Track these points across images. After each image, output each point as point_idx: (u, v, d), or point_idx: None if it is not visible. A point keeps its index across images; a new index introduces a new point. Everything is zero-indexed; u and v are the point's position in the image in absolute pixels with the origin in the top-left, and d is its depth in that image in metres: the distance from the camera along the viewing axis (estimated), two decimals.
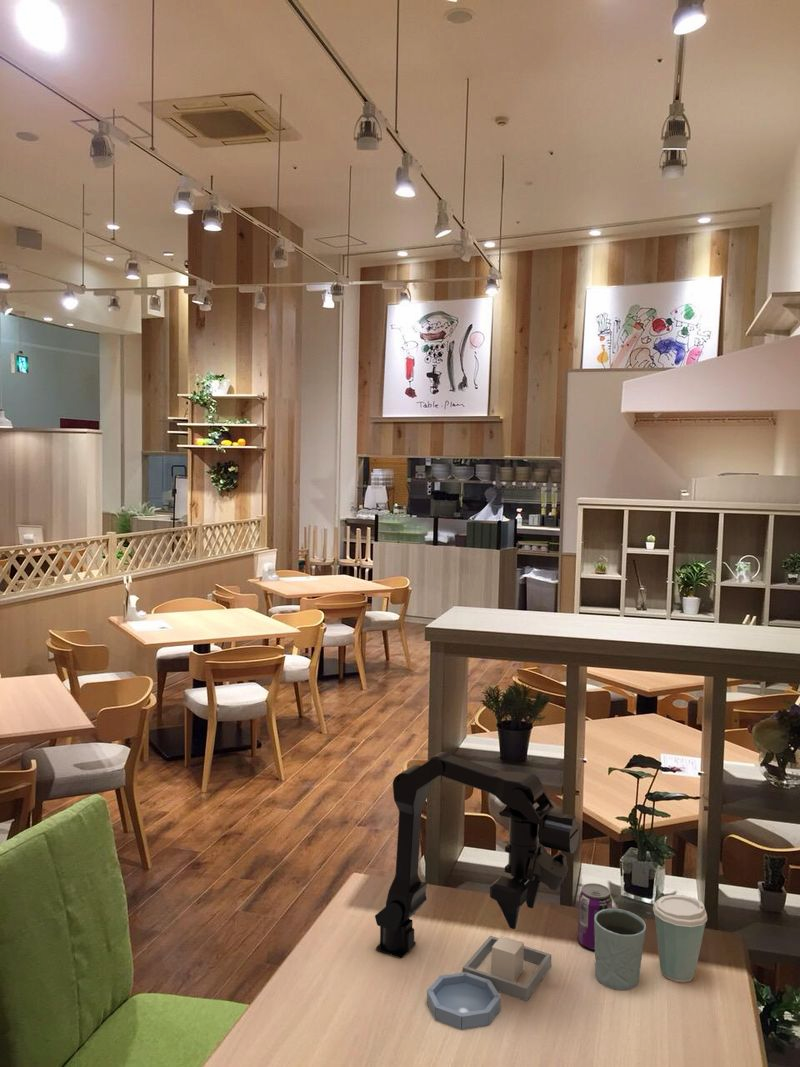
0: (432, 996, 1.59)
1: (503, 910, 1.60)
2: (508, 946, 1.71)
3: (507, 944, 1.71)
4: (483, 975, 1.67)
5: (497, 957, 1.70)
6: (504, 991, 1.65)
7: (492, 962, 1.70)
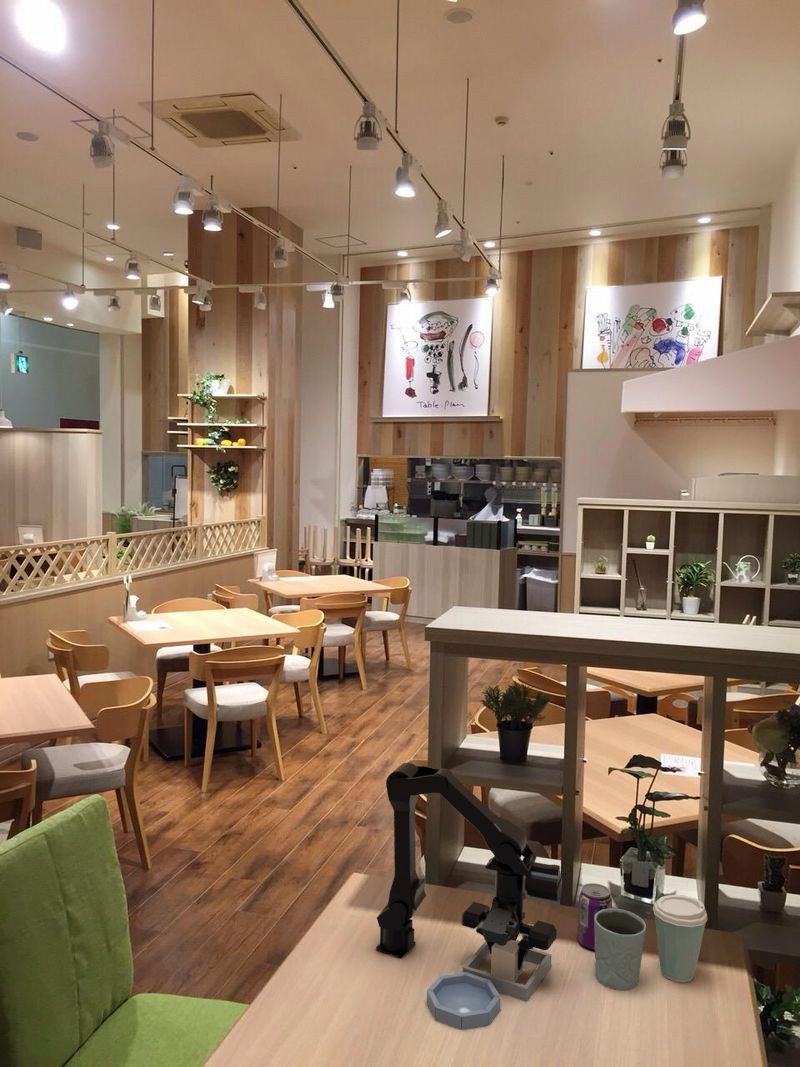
0: (432, 996, 1.59)
1: None
2: (508, 945, 1.71)
3: (507, 943, 1.71)
4: (483, 975, 1.67)
5: (497, 957, 1.70)
6: (504, 991, 1.65)
7: (492, 962, 1.70)
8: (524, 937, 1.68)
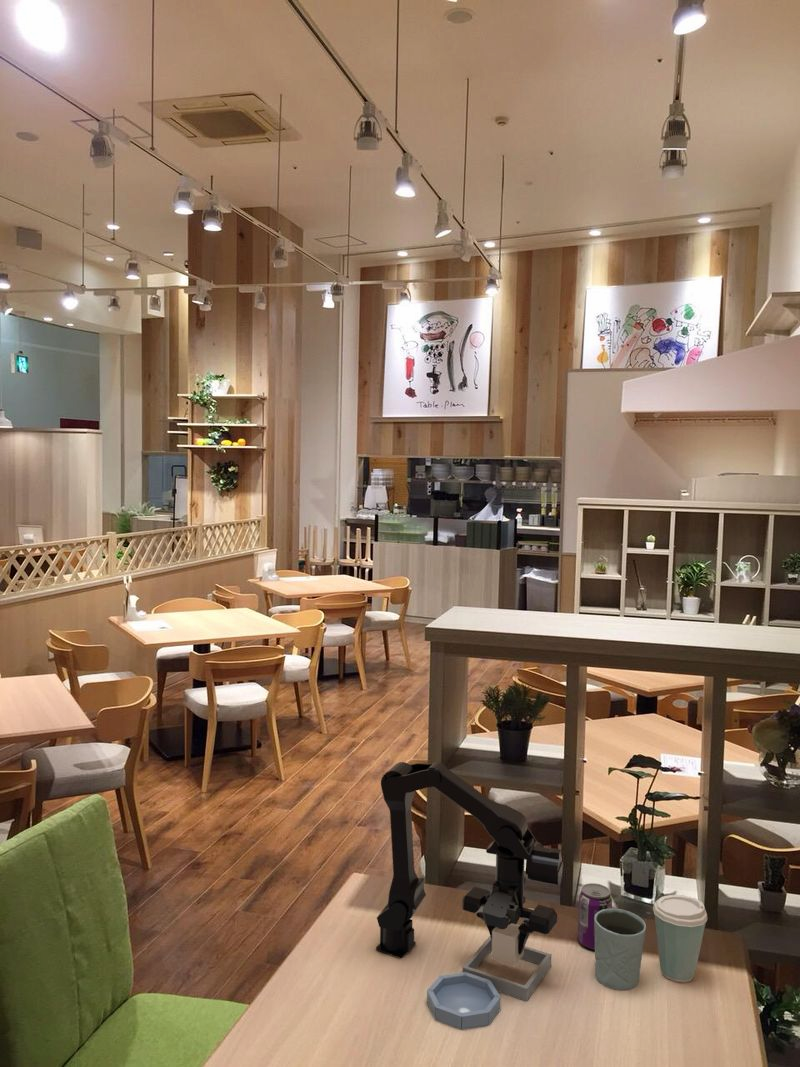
0: (432, 996, 1.59)
1: None
2: (508, 929, 1.71)
3: (507, 928, 1.71)
4: (483, 975, 1.67)
5: (498, 941, 1.70)
6: (504, 991, 1.65)
7: (492, 946, 1.70)
8: (525, 921, 1.68)
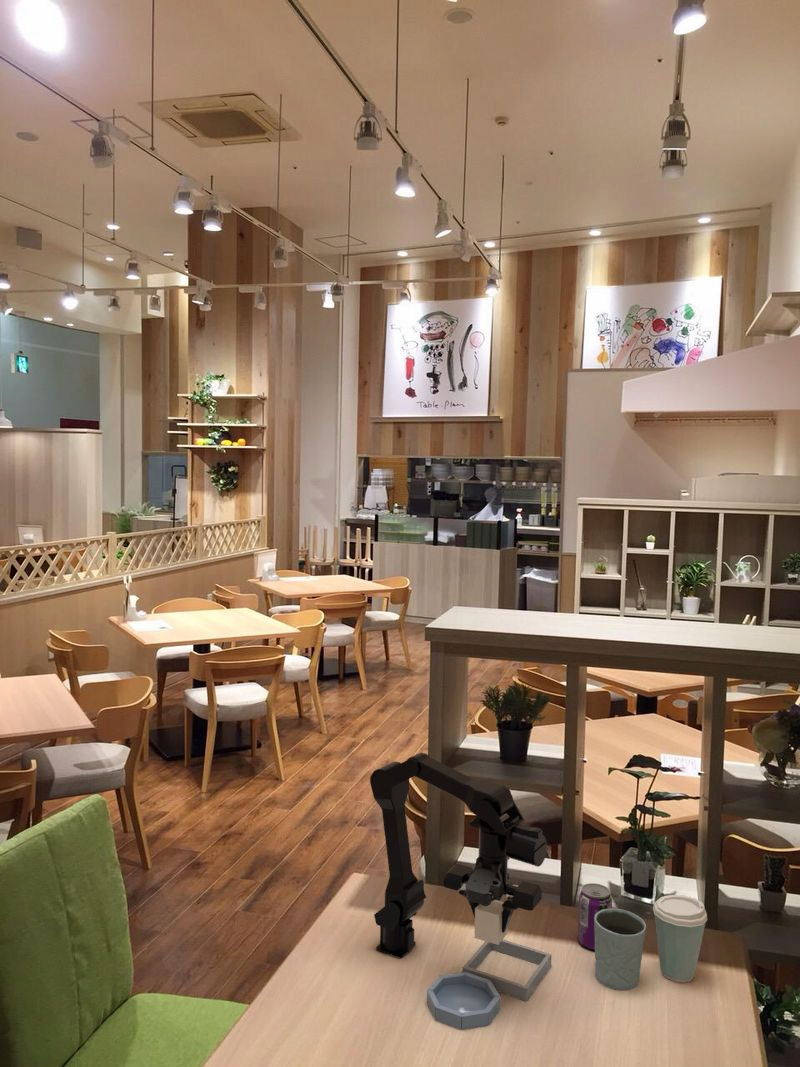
0: (432, 996, 1.59)
1: None
2: (492, 907, 1.66)
3: (491, 905, 1.66)
4: (483, 975, 1.67)
5: (481, 919, 1.65)
6: (504, 991, 1.65)
7: (475, 924, 1.65)
8: (508, 898, 1.63)
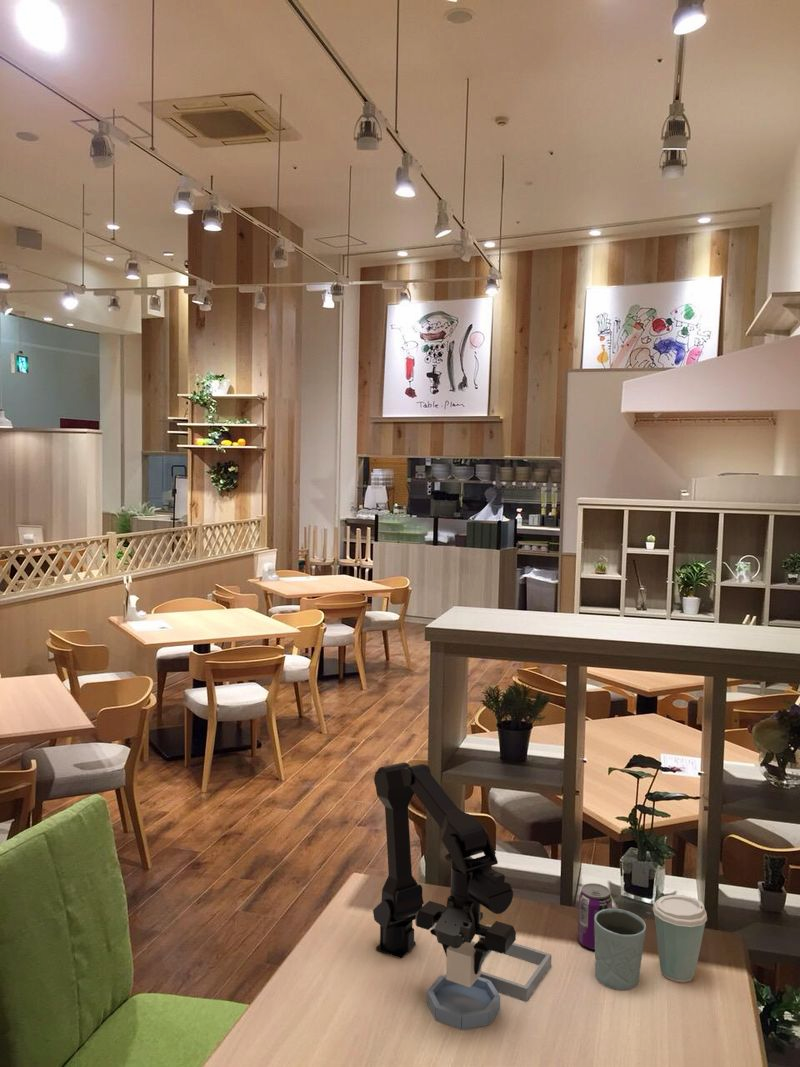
0: (432, 996, 1.59)
1: None
2: (464, 947, 1.59)
3: (463, 945, 1.60)
4: (483, 975, 1.67)
5: (452, 960, 1.58)
6: (504, 991, 1.65)
7: (447, 965, 1.59)
8: (481, 939, 1.57)
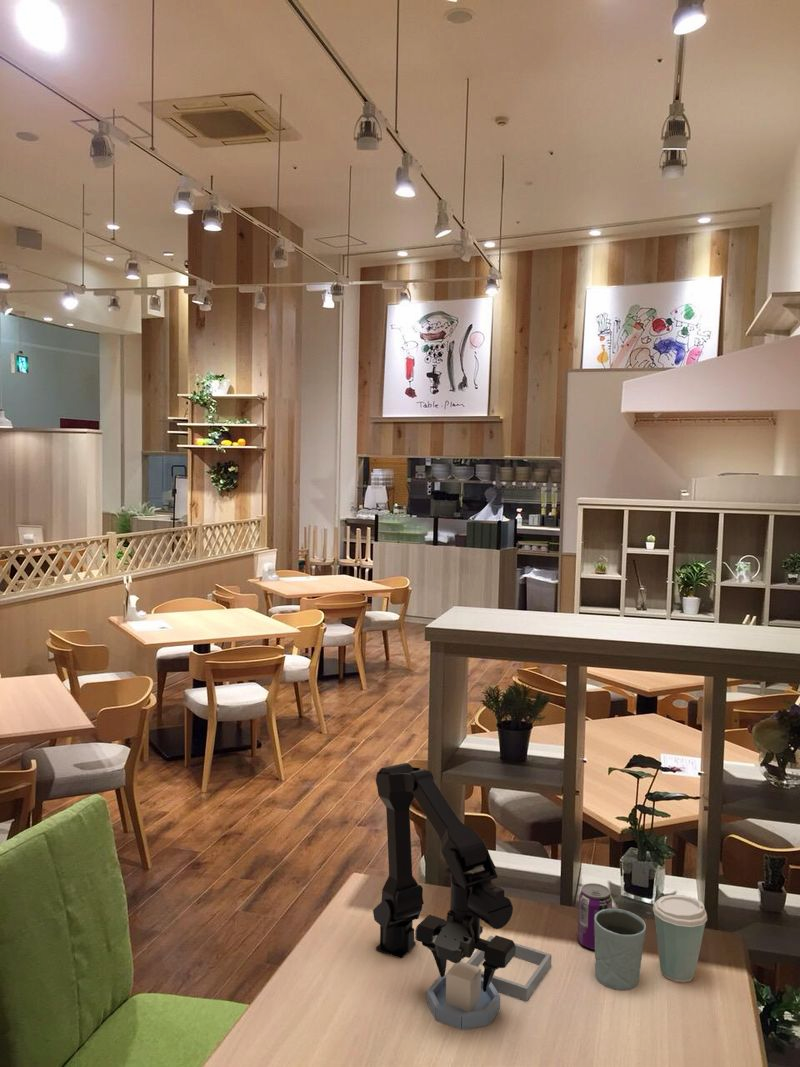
0: (432, 996, 1.59)
1: None
2: (464, 972, 1.60)
3: (463, 969, 1.60)
4: (483, 975, 1.67)
5: (452, 984, 1.59)
6: (504, 991, 1.65)
7: (447, 989, 1.59)
8: None
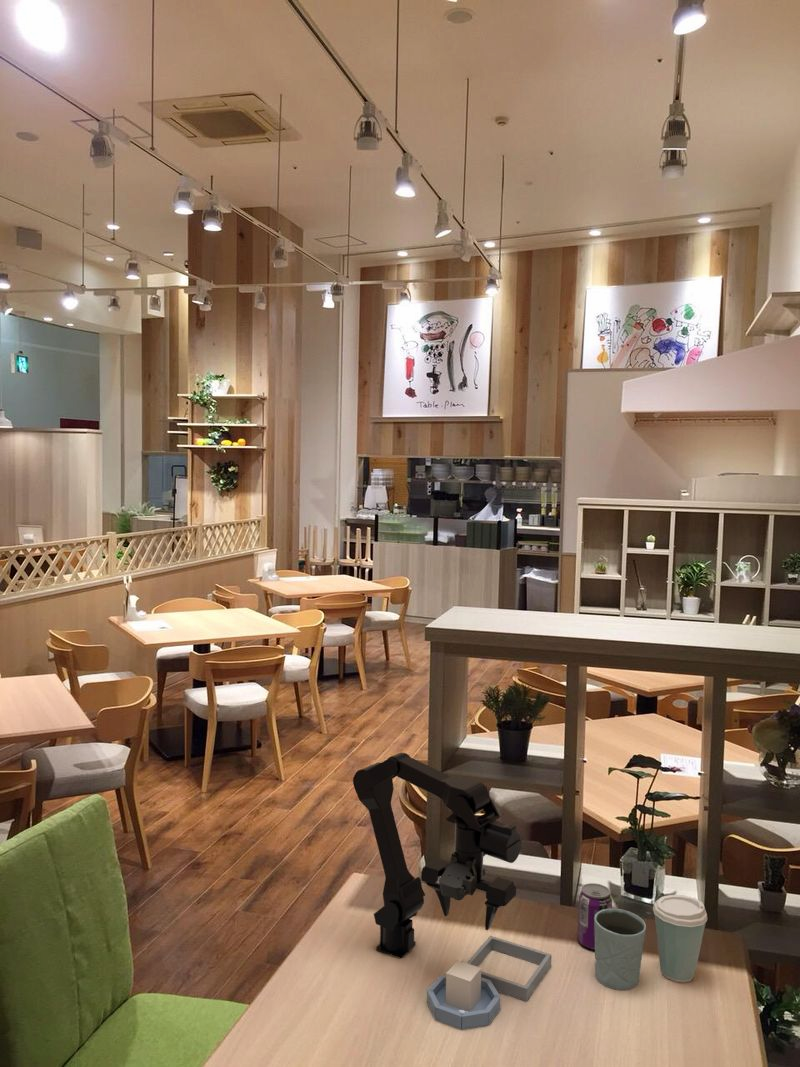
0: (432, 996, 1.59)
1: None
2: (464, 972, 1.60)
3: (463, 969, 1.60)
4: (483, 975, 1.67)
5: (452, 984, 1.59)
6: (504, 991, 1.65)
7: (447, 989, 1.59)
8: None
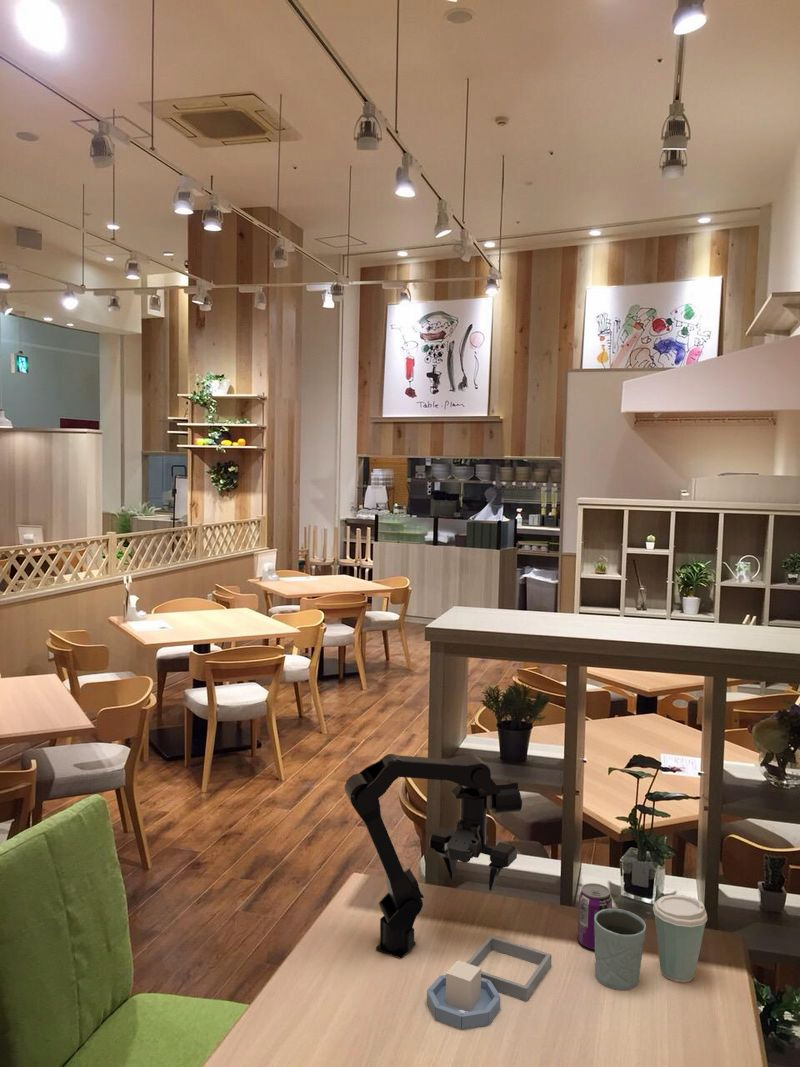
0: (432, 996, 1.59)
1: None
2: (463, 972, 1.60)
3: (463, 969, 1.60)
4: (483, 975, 1.67)
5: (452, 984, 1.59)
6: (504, 991, 1.65)
7: (447, 989, 1.59)
8: None
